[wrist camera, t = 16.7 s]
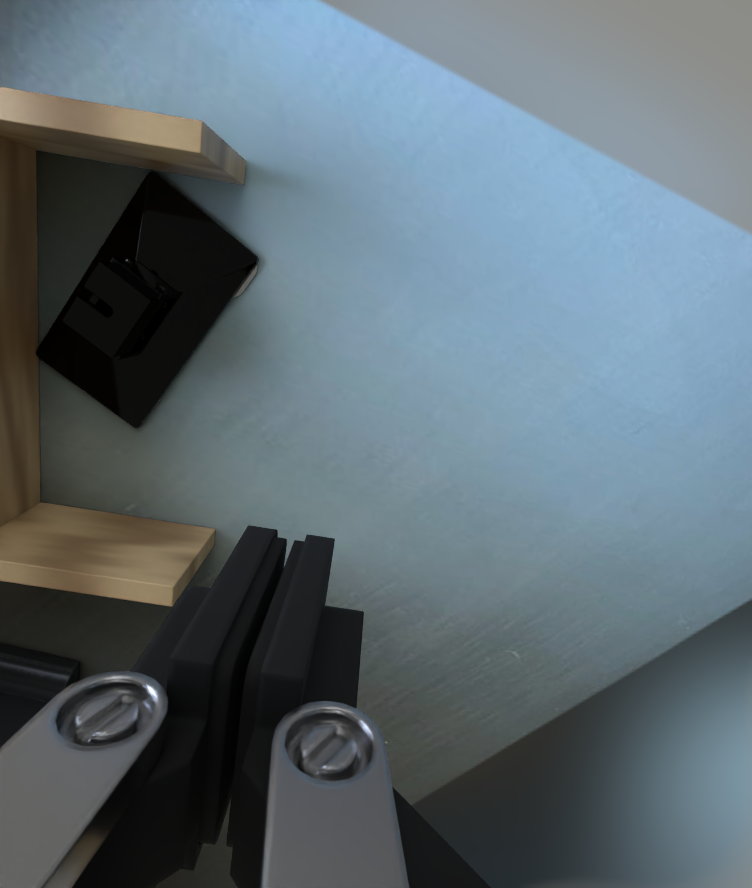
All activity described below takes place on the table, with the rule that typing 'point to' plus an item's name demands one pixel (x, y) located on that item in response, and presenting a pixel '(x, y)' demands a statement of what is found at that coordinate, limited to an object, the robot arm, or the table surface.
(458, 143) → the table surface
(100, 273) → the build plate
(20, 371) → the shelf bay
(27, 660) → the bookend
